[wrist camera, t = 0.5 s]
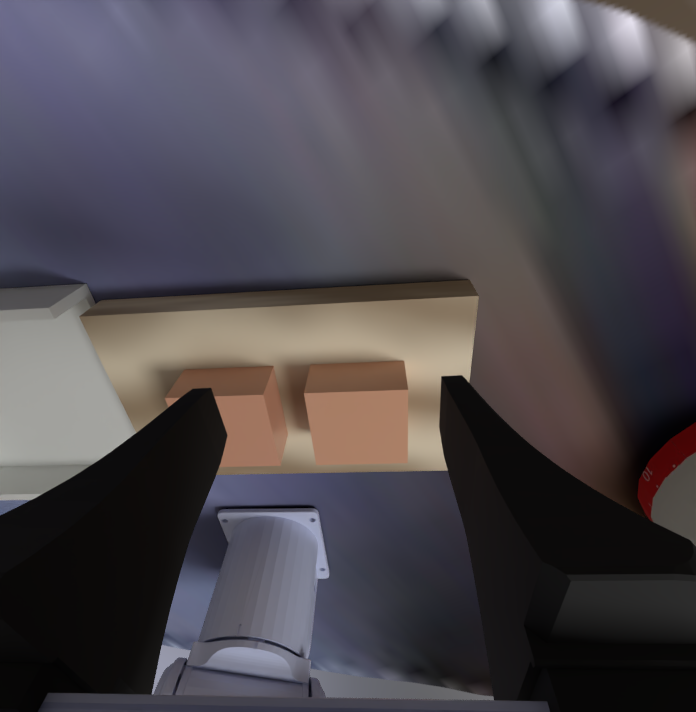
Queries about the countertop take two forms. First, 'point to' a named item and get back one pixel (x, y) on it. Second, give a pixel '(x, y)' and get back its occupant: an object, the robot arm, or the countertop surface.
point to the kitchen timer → (672, 485)
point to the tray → (52, 391)
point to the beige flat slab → (293, 351)
